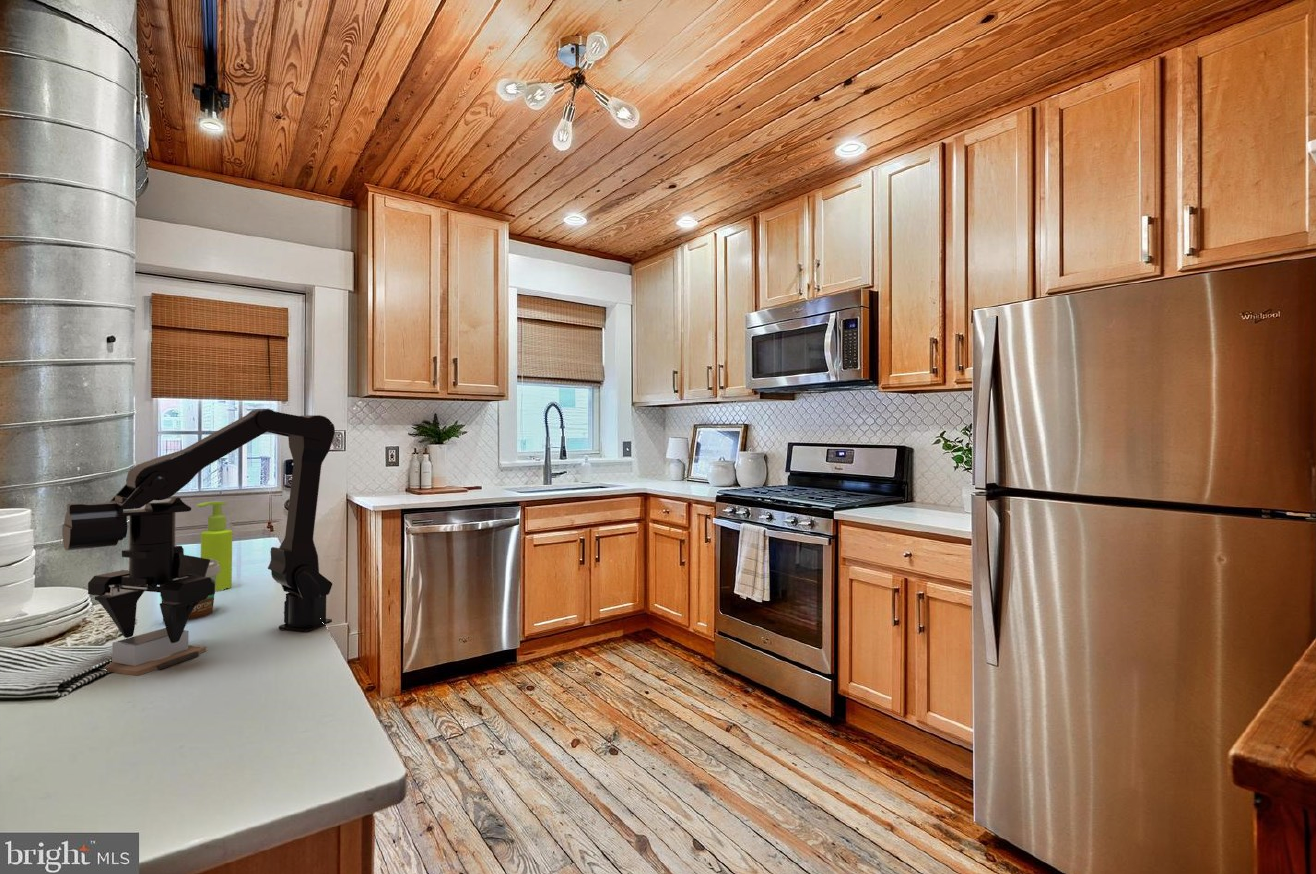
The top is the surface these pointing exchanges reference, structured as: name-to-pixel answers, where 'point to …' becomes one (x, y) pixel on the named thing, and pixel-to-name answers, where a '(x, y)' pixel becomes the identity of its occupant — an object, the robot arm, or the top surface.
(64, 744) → the top surface
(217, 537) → the soap dispenser
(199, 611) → the food container
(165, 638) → the white rectangular block
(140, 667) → the cutting board
